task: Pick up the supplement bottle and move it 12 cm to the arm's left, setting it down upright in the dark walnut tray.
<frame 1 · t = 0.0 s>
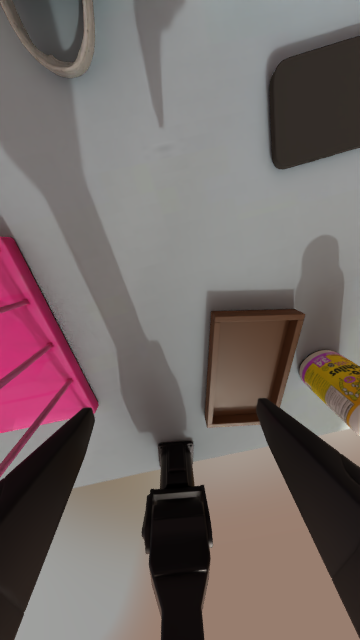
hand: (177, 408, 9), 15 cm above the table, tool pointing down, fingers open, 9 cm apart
supplement bottle: (316, 365, 28), on the table
tray: (244, 369, 27), on the table
phone: (346, 104, 16), on the table
file sorter: (5, 349, 24), on the table
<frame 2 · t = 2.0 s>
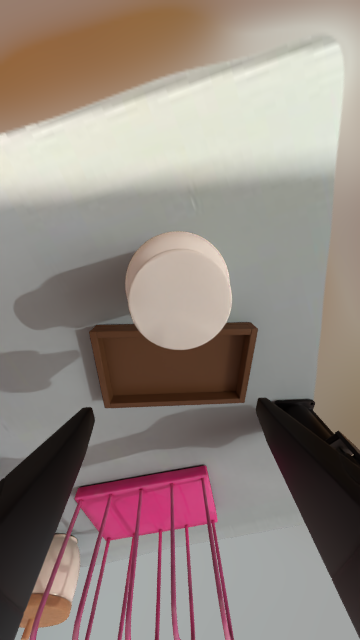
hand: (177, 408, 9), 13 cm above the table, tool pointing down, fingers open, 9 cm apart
supplement bottle: (174, 272, 20), on the table
tray: (175, 361, 24), on the table
lidded bowl: (62, 539, 40), on the table
file sorter: (152, 498, 36), on the table
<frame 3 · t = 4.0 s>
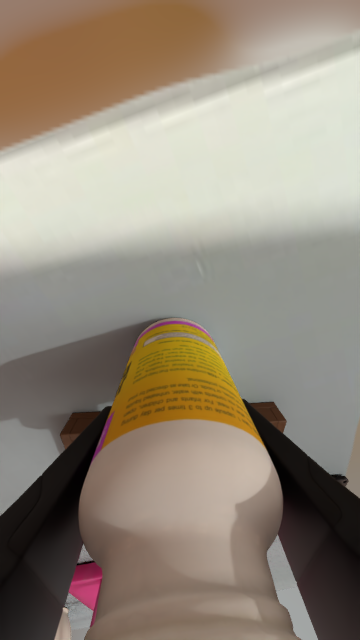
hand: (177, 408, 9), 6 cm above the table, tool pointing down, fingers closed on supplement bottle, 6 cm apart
supplement bottle: (174, 351, 15), on the table, touching gripper
tray: (176, 446, 19), on the table
lidded bowl: (51, 609, 36), on the table
file sorter: (152, 569, 31), on the table
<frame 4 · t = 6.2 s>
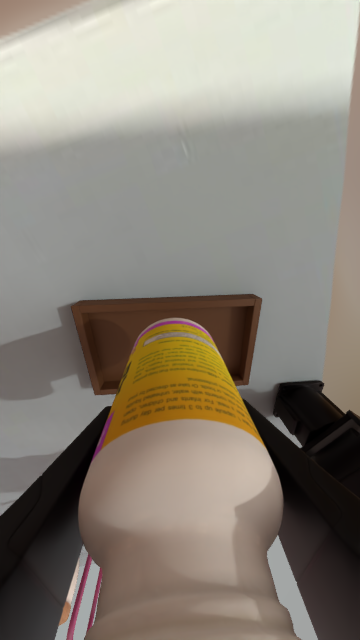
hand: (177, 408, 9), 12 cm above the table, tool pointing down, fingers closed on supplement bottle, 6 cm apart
supplement bottle: (174, 350, 15), point 6 cm above the table, touching gripper
tray: (171, 342, 22), on the table
lidded bowl: (60, 538, 39), on the table
file sorter: (153, 492, 34), on the table
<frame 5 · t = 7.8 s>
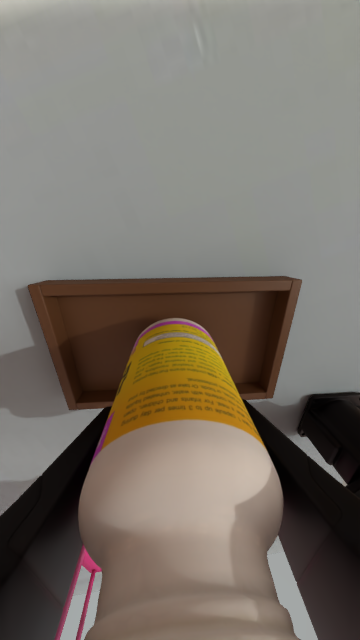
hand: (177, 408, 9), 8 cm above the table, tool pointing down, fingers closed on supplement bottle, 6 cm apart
supplement bottle: (174, 351, 15), point 2 cm above the table, touching gripper
tray: (172, 340, 16), on the table
file sorter: (147, 520, 29), on the table
when the fingers open (6 cm above the table, at t = 8.8 s): supplement bottle stays where it is, resting on tray.
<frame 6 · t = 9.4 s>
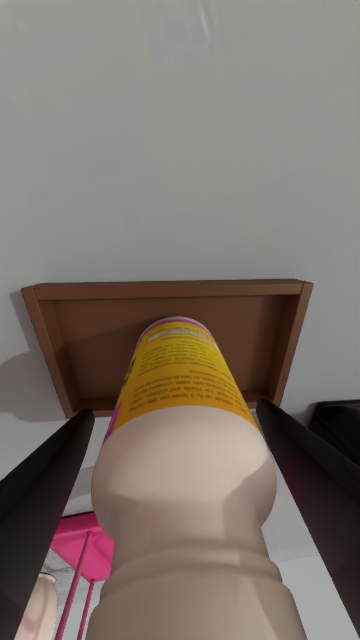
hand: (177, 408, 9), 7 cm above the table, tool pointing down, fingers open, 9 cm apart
supplement bottle: (175, 348, 15), resting on tray
tray: (174, 345, 15), on the table
lidded bowl: (36, 578, 32), on the table
file sorter: (147, 529, 28), on the table
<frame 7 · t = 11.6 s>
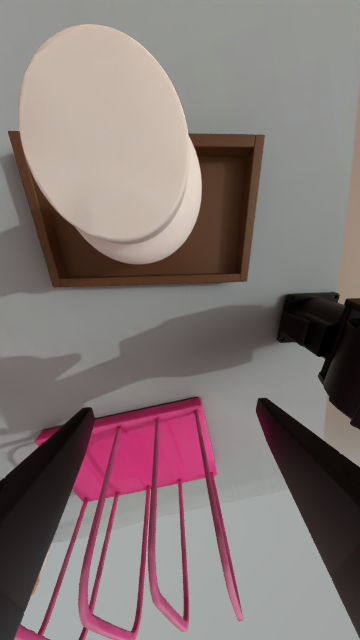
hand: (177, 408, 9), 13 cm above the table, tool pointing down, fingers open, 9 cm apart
supplement bottle: (151, 222, 17), resting on tray
tray: (150, 222, 17), on the table
file sorter: (137, 447, 30), on the table
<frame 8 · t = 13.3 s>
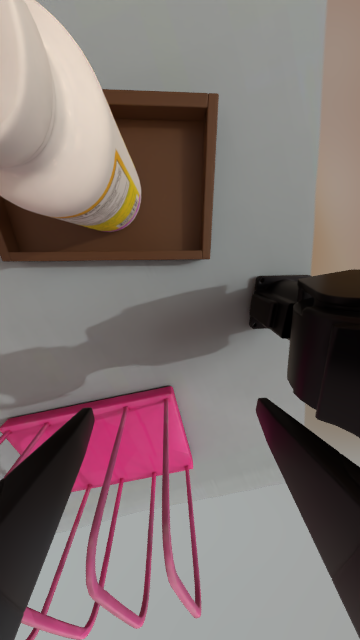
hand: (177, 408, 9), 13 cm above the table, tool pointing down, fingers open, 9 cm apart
supplement bottle: (106, 193, 16), resting on tray
tray: (106, 194, 16), on the table
file sorter: (110, 438, 29), on the table
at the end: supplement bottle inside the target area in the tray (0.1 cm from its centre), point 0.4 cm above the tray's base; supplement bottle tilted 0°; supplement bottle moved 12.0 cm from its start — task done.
